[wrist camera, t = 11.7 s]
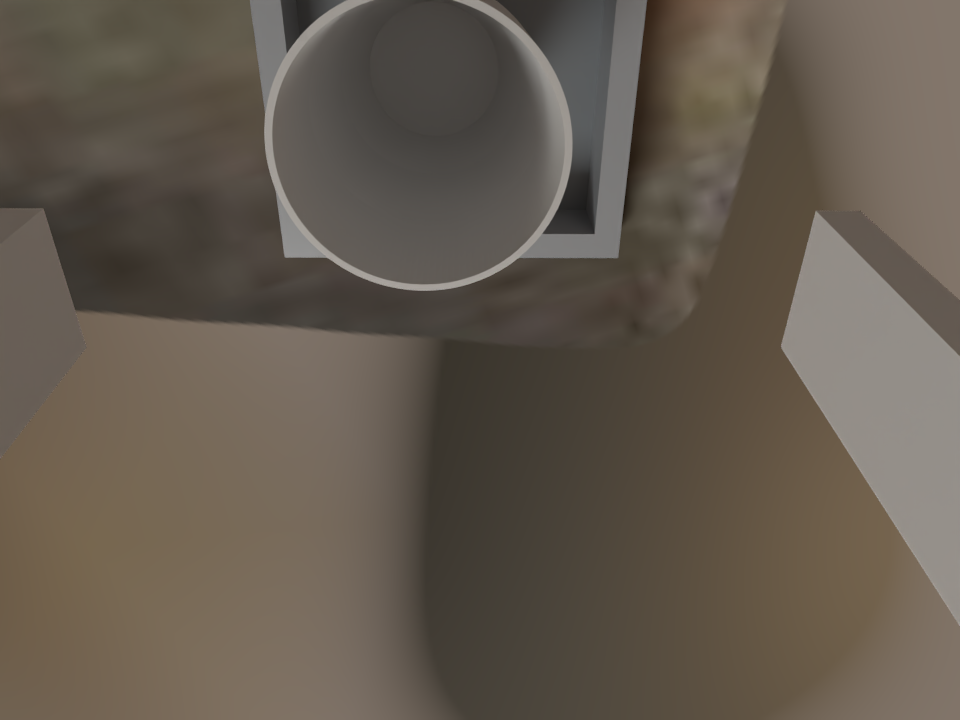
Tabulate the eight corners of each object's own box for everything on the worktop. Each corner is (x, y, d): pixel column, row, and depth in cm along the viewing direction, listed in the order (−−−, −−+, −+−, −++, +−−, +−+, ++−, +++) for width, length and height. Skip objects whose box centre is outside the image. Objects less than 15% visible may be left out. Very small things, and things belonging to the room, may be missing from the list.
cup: (506, 197, 32) (521, 317, 23) (308, 146, 31) (247, 254, 22) (571, -14, 28) (617, 39, 19) (344, -83, 26) (286, -59, 18)
